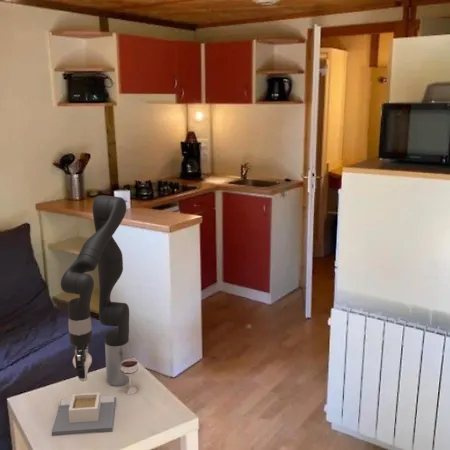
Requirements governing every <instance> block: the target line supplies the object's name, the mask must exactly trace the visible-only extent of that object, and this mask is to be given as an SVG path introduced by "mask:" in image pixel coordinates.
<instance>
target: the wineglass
mask: <svg viewBox="0 0 450 450" xmlns="http://www.w3.org/2000/svg"><path fill="white" fill-rule="evenodd" d="M138 361H139V360H137V359H136V358H132V357H131V358H130V357H129V359H125V360H123V361H121V363H120V364H121V368H120V369H121V372H122V373H123V374H124V375H125V376H128V377H129V382H128V384H129V386H127V387H126V388H124V389H123V393H124V394H126V395H133V394H135V393H136V392H137V390H138V389H137V387H135V386H132V383H131V382H132V381H131V380H132V379H131V378H132V376H134V375H135V374H137V373H138V371H139V362H138Z"/></svg>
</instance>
